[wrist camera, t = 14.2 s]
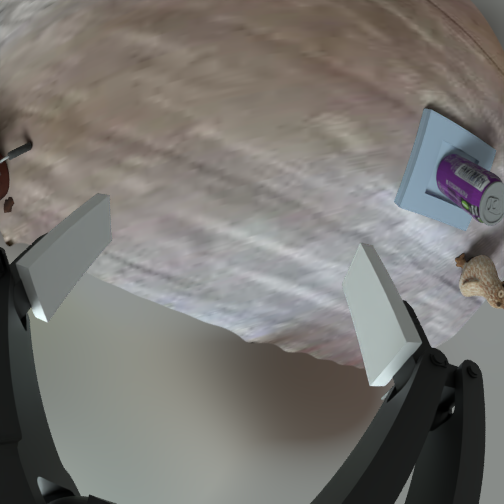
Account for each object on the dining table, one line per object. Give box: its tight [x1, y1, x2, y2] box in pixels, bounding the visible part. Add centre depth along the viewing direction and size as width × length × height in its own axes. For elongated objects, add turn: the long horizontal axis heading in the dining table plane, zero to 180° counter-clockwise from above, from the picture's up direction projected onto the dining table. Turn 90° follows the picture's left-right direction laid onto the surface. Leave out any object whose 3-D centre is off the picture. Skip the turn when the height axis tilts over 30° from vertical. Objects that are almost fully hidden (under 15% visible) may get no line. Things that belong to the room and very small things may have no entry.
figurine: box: [455, 253, 504, 309], centre depth 38 cm, size 9×10×15 cm
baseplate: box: [394, 108, 496, 231], centre depth 34 cm, size 16×16×2 cm
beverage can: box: [436, 154, 504, 226], centre depth 29 cm, size 7×7×12 cm
